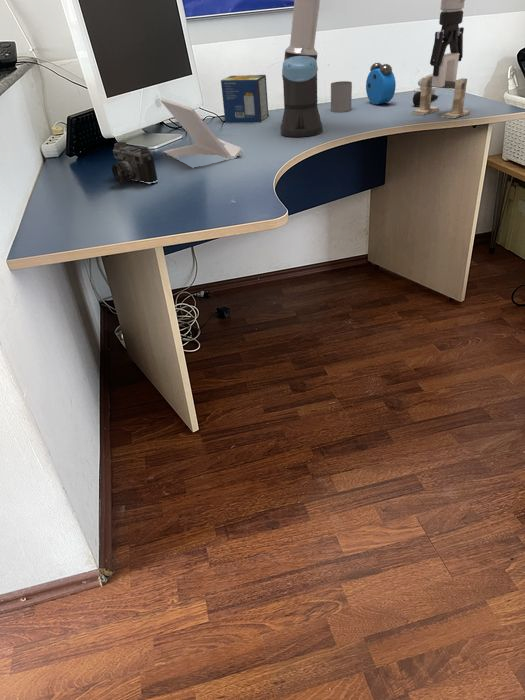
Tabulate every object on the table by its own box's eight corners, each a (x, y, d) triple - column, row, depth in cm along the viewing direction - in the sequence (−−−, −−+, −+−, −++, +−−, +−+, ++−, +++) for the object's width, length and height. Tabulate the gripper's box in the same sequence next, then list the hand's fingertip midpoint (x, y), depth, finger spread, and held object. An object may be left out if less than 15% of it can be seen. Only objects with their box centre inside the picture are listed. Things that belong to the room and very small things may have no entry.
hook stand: (453, 119, 188) (458, 82, 182) (412, 113, 200) (414, 78, 193) (469, 113, 193) (474, 77, 186) (427, 108, 205) (431, 74, 198)
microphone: (432, 106, 224) (411, 109, 210) (430, 91, 222) (409, 93, 209) (444, 102, 220) (423, 105, 207) (442, 87, 218) (421, 89, 205)
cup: (328, 112, 213) (328, 85, 207) (332, 108, 219) (332, 81, 214) (349, 112, 210) (350, 84, 205) (352, 107, 217) (353, 81, 211)
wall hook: (431, 73, 215) (411, 72, 222) (429, 98, 221) (409, 96, 227) (444, 70, 219) (423, 69, 226) (441, 95, 225) (421, 93, 231)
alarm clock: (394, 105, 215) (397, 63, 207) (382, 107, 214) (384, 65, 205) (376, 100, 225) (378, 61, 217) (364, 102, 224) (365, 62, 215)
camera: (101, 181, 157) (93, 146, 151) (127, 173, 162) (120, 139, 156) (136, 192, 147) (128, 155, 141) (162, 182, 152) (156, 146, 146)
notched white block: (441, 86, 188) (444, 56, 182) (431, 86, 190) (434, 56, 185) (455, 82, 192) (459, 53, 187) (446, 82, 195) (449, 52, 189)
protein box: (234, 116, 220) (230, 75, 211) (269, 116, 215) (266, 74, 206) (224, 122, 212) (219, 79, 203) (260, 122, 207) (257, 79, 198)
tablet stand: (193, 169, 161) (184, 109, 151) (163, 153, 179) (153, 99, 169) (244, 157, 168) (239, 99, 158) (210, 143, 186) (204, 90, 176)
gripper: (442, 13, 170) (435, 89, 183) (479, 7, 181) (469, 79, 194) (423, 14, 175) (417, 88, 188) (460, 7, 186) (452, 78, 199)
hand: (443, 83), depth 191 cm, fingers closed on notched white block, 9 cm apart
